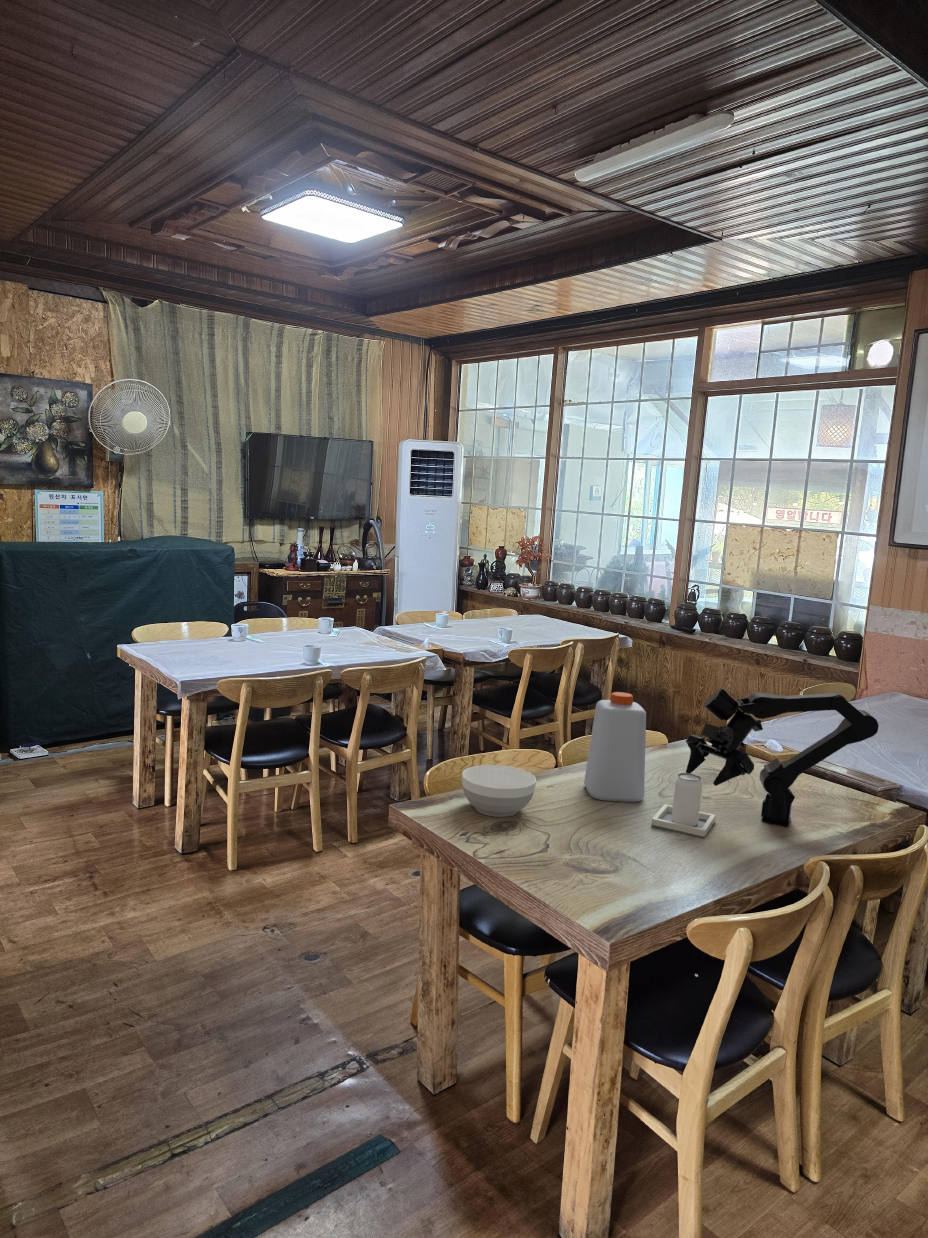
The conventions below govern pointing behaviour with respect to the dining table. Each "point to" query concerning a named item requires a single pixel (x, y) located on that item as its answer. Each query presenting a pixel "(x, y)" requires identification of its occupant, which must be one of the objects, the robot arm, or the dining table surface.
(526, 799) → the bowl
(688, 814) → the can
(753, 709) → the robot arm
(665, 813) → the square tray
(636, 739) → the plastic bottle
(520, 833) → the dining table surface
